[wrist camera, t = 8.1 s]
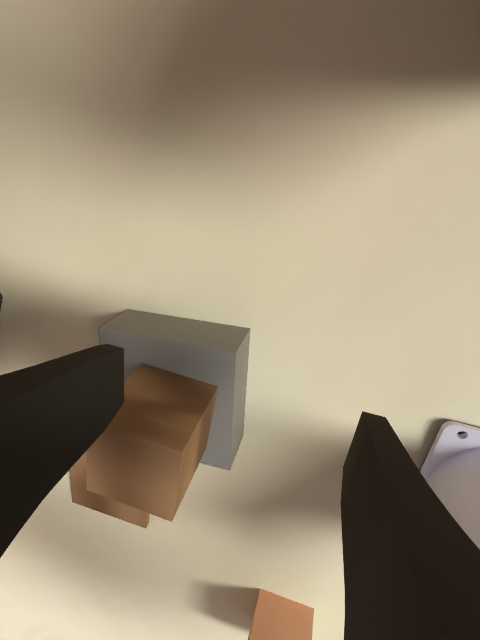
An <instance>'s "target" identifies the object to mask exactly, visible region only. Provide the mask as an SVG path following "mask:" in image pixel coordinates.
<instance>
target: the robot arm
mask: <svg viewBox="0 0 480 640" xmlns="http://www.w3.org/2000/svg"><path fill="white" fill-rule="evenodd" d="M123 403H124V348H121V347H117V346H114V345H110V344H103V345H98V346H95V347H91V348H88V349H85V350H81V351H78V352H75V353H72V354H69V355H66V356H63V357H60V358H57V359H54V360H51V361H47V362H44V363H41V364H38V365H35V366H31V367H28V368H25V369H21V370H18V371H14V372H11V373H7V374H4V375H0V558H1V556H2V555H3V553H4V552H5V551H6V549H7V548H8V546H9V545H10V543H11V542H12V541H13V539H14V538H15V536H16V535H17V534H18V532H19V531H20V530H21V528H22V527H23V526H24V524H25V523H26V522H27V520H28V519H29V518H30V516H31V515H32V514H33V512H34V511H35V510H36V508H37V507H38V506H39V504H40V503H41V502H42V500H43V499H44V498H45V497H46V496H47V494H48V493H49V492H50V491H51V490H52V488H53V487H54V486H55V485H56V484H57V483H58V482H59V481H60V479H61V478H62V477H63V476H64V475H65V474H66V473H67V472H68V471H69V470H70V468H71V467H72V466H73V465H74V464H75V463H76V462H77V461H78V460H79V459H80V457H81V456H82V455H83V454H84V453H85V452H86V451H87V450H88V449H89V447H90V446H91V445H92V444H93V443H94V442H95V441H96V440H97V438H98V437H99V436H100V435H101V434H102V433H103V432H104V430H105V429H106V428H107V427H108V425H109V424H110V422H111V421H112V420H113V418H114V417H115V415H116V414H117V412H118V411H119V409H120V408H121V406H122V405H123ZM460 431H465V433H464V434H457V433H458V432H460ZM341 519H342V541H343V562H344V582H345V627H344V640H480V428H478V427H474V426H470V425H466V424H462V423H458V422H455V421H448V422H445V423H443V424H442V426H441V428H440V430H439V432H438V434H437V436H436V438H435V441H434V443H433V445H432V447H431V449H430V451H429V453H428V455H427V458H426V460H425V462H424V464H423V466H422V468H421V470H420V471H419V470H418V468H417V467H416V465H415V464H414V462H413V460H412V459H411V457H410V456H409V454H408V453H407V451H406V449H405V448H404V446H403V445H402V443H401V441H400V440H399V438H398V437H397V435H396V433H395V432H394V430H393V428H392V427H391V425H390V424H389V422H388V420H387V419H386V417H382V416H378V415H374V414H371V413H367V412H363V411H362V414H361V417H360V420H359V423H358V426H357V429H356V431H355V434H354V437H353V440H352V443H351V446H350V449H349V452H348V455H347V458H346V461H345V464H344V466H343V478H342V492H341Z"/></svg>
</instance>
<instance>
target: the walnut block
mask: <svg viewBox="0 0 480 640" xmlns="http://www.w3.org/2000/svg"><path fill="white" fill-rule="evenodd" d="M217 389H218V386H215V385H212V384H208V383H205V382H202V381H199V380H195V379H192V378H189V377H186V376H182V375H179V374H176V373H173V372H169V371H166V370H163V369H160V368H157V367H153V366H150V365H147V364H144V363H141V365H140V366H139V367H138V368H137V369H136V370H135V371H134V372H133V373H132V374H131V375H130V376H129V377H128V378H127V379H126V380H125V381H124V403H123V405H122V406H121V408H120V409H119V411H118V412H117V414H116V415H115V417H114V418H113V420H112V421H111V422H110V424H109V425H108V427H107V428H106V429H105V430H104V432H103V433H102V434H101V435H100V436H99V437H98V438H97V440H96V441H95V442H94V443H93V444H92V445H91V446H90V447H89V449H88V450H87V451H86V474H87V490H89V491H91V492H94V493H97V494H99V495H102V496H105V497H107V498H110V499H113V500H115V501H118V502H121V503H123V504H126V505H129V506H131V507H134V508H137V509H139V510H142V511H145V512H147V513H150V514H153V515H155V516H158V517H161V518H163V519H166V520H169V521H171V522H172V520H173V518H174V516H175V514H176V511H177V509H178V507H179V505H180V503H181V501H182V499H183V497H184V494H185V492H186V490H187V488H188V486H189V484H190V482H191V479H192V477H193V475H194V473H195V471H196V469H197V467H198V465H199V462H200V460H201V458H202V456H203V454H204V452H205V450H206V447H207V442H208V437H209V431H210V426H211V421H212V416H213V410H214V405H215V400H216V395H217Z"/></svg>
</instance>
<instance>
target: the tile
mask: <svg viewBox="0 0 480 640" xmlns="http://www.w3.org/2000/svg"><path fill="white" fill-rule="evenodd" d="M70 481H71V493H72V502H74V503H77V504H79V505H82V506H85V507H88V508H91V509H93V510H96V511H99V512H102V513H104V514H107V515H110V516H113V517H116V518H118V519H121V520H124V521H127V522H129V523H132V524H135V525H138V526H141V527H143V528H146V527H147V525H148V523H149V513H147V512H145V511H142V510H139V509H137V508H134V507H131V506H129V505H126V504H123V503H121V502H118V501H115V500H113V499H110V498H107V497H105V496H102V495H99V494H97V493H94V492H91V491H89V490H87V474H86V452H85V453H84V454H83V455H82V456H81V457H80V459H79V460H78V461H77V462H76V463H75V464H74V465H73V466H72V467H71V468H70Z"/></svg>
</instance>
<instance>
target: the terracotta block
mask: <svg viewBox="0 0 480 640" xmlns="http://www.w3.org/2000/svg"><path fill="white" fill-rule="evenodd" d="M313 614H314V608H311V607H308V606H306V605H303V604H300V603H298V602H295V601H292V600H289V599H287V598H284V597H281V596H279V595H276V594H273V593H271V592H268V591H265V590H263V589H260V591H259V595H258V599H257V602H256V606H255V610H254V613H253V617H252V621H251V626H250V631H249V636H248V640H312V629H313Z"/></svg>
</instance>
